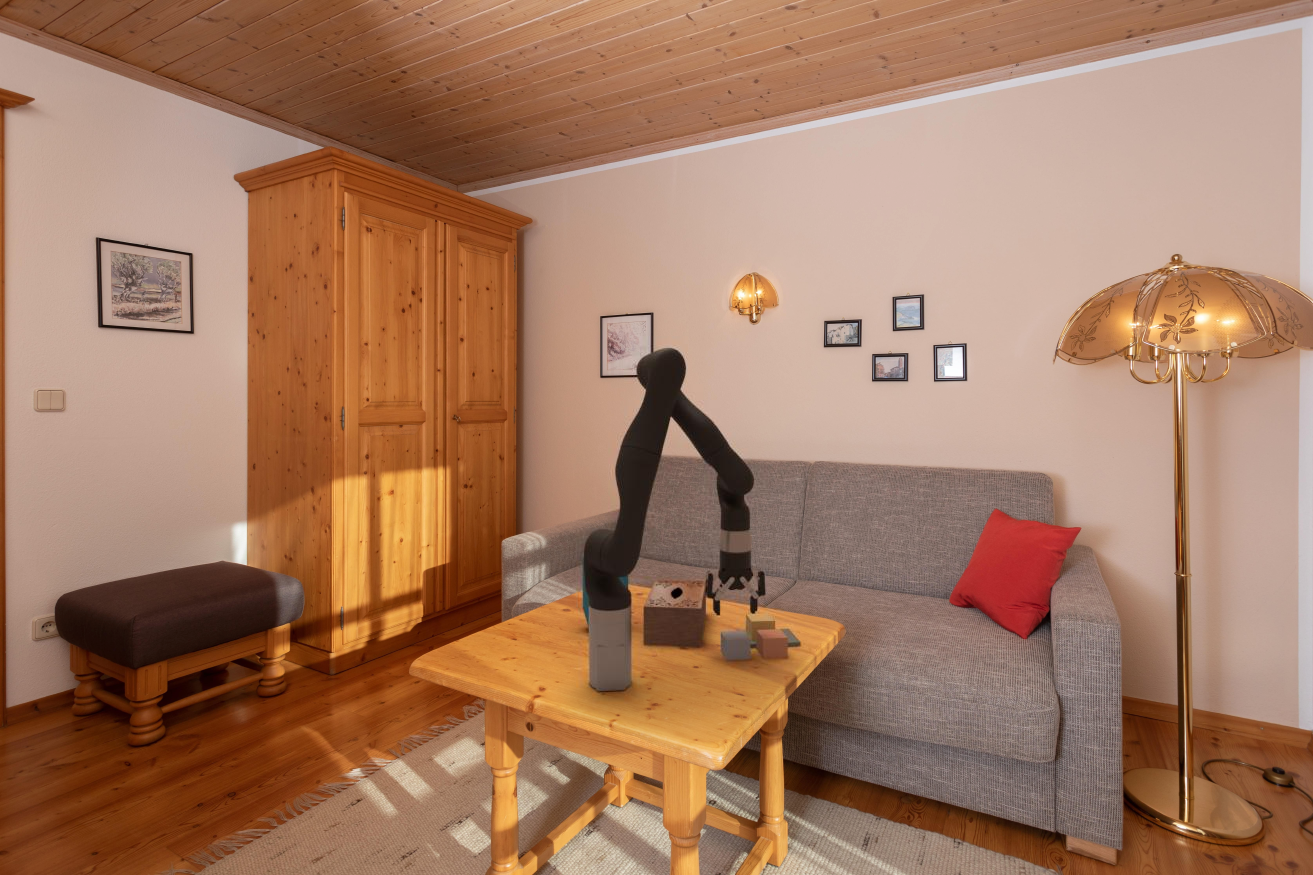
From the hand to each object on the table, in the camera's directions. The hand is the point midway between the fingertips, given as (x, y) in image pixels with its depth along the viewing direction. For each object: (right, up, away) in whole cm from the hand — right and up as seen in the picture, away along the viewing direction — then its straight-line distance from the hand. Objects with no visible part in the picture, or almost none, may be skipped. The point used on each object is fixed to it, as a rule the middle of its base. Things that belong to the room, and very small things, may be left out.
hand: (735, 613), depth 164 cm
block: (-33, -9, +18) cm, 38 cm away
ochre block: (+7, -8, +10) cm, 15 cm away
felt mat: (+9, -9, +10) cm, 17 cm away
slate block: (0, -10, 0) cm, 10 cm away
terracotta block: (+9, -10, +1) cm, 13 cm away
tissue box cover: (-14, -9, +19) cm, 25 cm away
